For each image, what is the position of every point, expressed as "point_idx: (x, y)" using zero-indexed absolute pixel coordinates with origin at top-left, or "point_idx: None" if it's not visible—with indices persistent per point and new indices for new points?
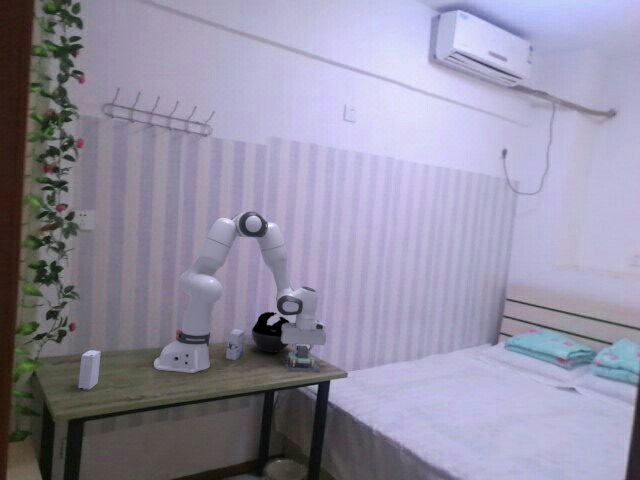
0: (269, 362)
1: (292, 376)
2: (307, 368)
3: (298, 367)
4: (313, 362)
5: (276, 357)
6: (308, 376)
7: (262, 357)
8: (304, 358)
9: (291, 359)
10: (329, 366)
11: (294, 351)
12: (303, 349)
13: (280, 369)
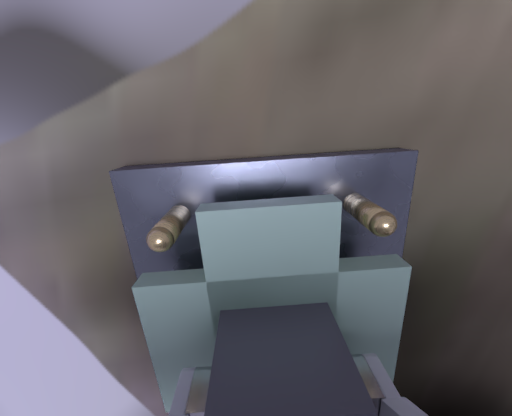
0: (477, 305)
1: (394, 3)
2: (230, 162)
3: (316, 173)
4: (158, 222)
5: (399, 388)
6: (233, 28)
7: (488, 375)
8: (256, 284)
9: (395, 259)
10: (48, 302)
11: (387, 377)
12: (287, 405)
13: (447, 180)
